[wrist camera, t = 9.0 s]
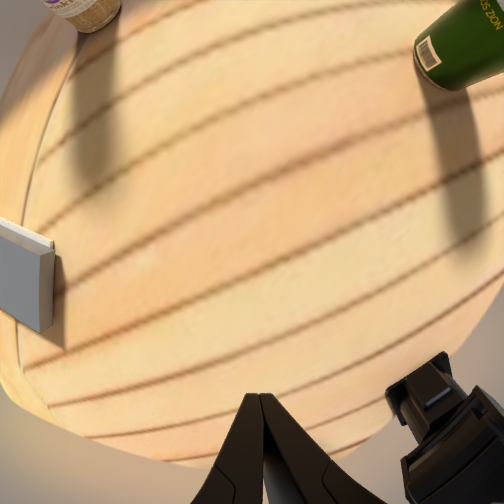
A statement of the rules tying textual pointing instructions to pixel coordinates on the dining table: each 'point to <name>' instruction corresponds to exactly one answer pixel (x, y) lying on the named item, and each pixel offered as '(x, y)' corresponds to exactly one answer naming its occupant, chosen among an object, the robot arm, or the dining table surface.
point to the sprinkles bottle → (85, 12)
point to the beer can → (463, 45)
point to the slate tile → (26, 279)
